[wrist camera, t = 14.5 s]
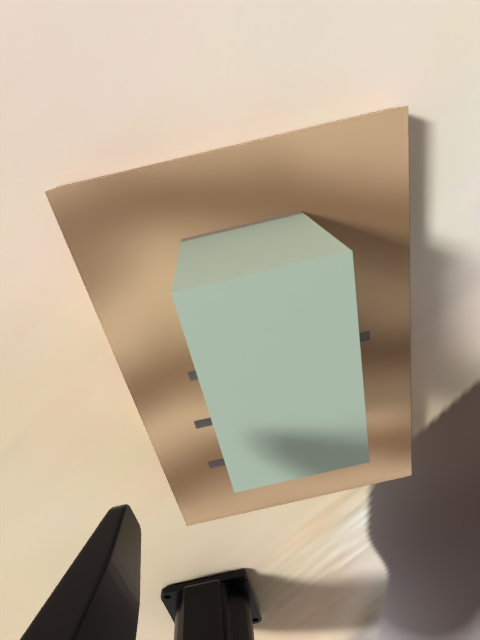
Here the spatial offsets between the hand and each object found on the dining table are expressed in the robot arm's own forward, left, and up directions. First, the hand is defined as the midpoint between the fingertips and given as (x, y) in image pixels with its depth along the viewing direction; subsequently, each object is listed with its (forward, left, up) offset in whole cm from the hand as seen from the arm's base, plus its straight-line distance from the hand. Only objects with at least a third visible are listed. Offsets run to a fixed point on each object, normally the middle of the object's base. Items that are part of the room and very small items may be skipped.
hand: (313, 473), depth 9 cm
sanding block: (0, 0, -9) cm, 9 cm away
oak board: (-3, 0, -11) cm, 11 cm away
